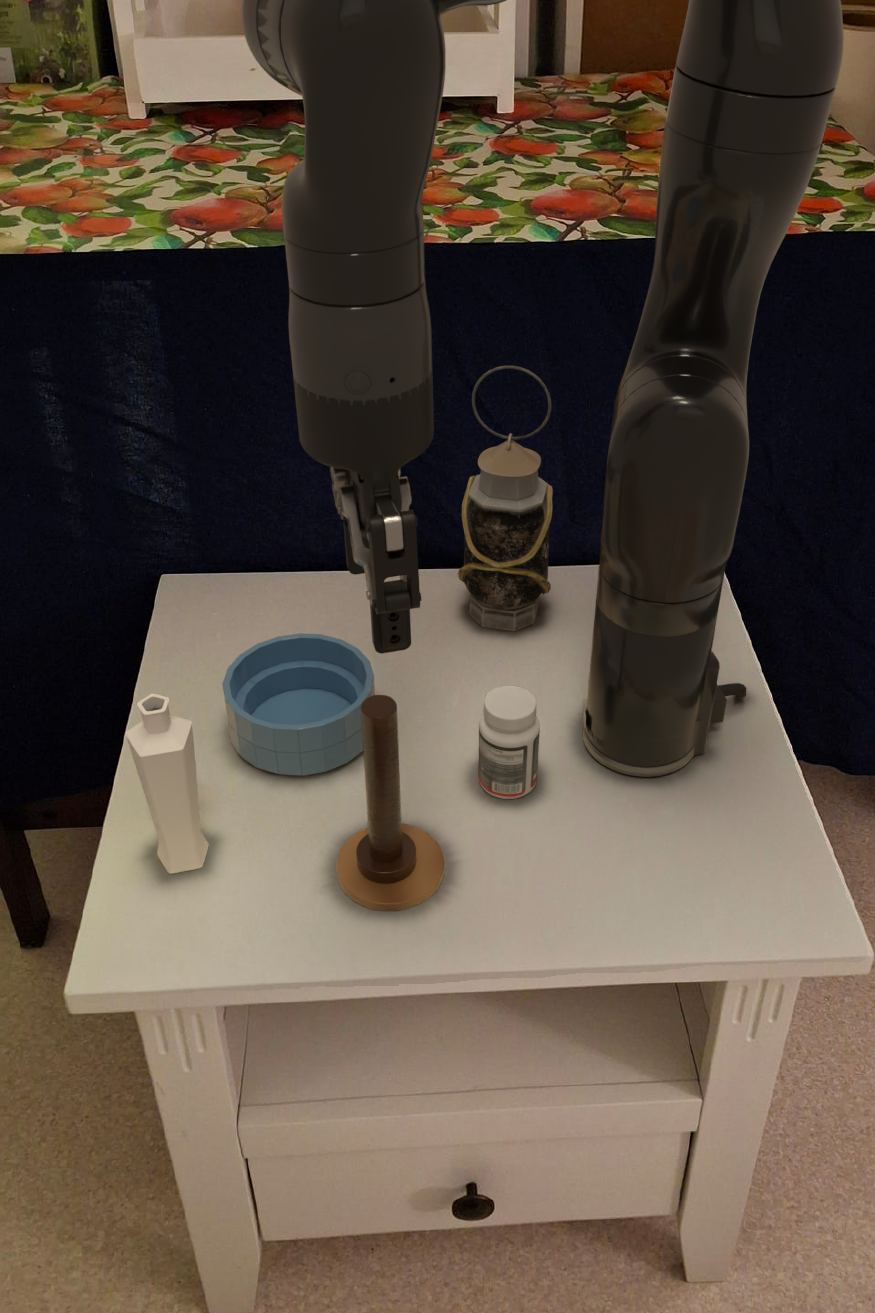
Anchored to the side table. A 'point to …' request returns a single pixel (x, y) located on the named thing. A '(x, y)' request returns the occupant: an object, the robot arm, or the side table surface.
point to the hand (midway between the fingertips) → (377, 607)
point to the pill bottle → (508, 743)
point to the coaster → (398, 893)
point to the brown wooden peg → (383, 797)
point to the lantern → (506, 531)
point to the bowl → (298, 703)
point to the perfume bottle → (169, 783)
